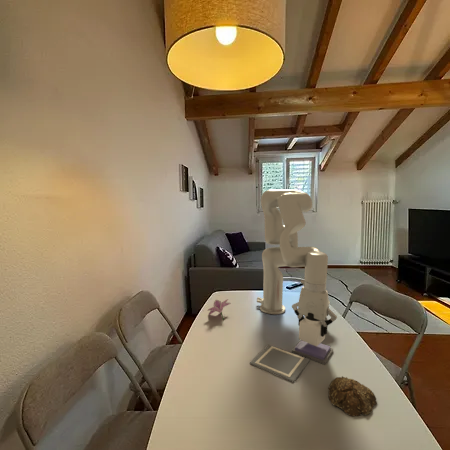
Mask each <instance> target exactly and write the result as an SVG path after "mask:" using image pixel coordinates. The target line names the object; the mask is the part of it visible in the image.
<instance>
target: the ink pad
mask: <svg viewBox="0 0 450 450" xmlns="http://www.w3.org/2000/svg"><path fill="white" fill-rule="evenodd" d="M333 352H334V348H332V347H331V346H330V345H326V344H323V343H322V342H321V343H320V344H319V345H318V346H314V345H312V344H309V343H307V342H305V341H302V340H300V339H299V342H298V343H297V344H296V345H295V346H294V347H293V348H292V349H291V353H294V354H297V355H299V356H303V357H306V358H308V359H310V360H311V361H314V362H316V361H317V363H319V364H323V365H326V363H327V362H328V360H329V359H330V357H331V355H332V354H333Z"/></svg>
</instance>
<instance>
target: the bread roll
mask: <svg viewBox="0 0 450 450" xmlns="http://www.w3.org/2000/svg"><path fill="white" fill-rule="evenodd" d="M327 389H328V400H329V401H330V403H331V405H332V406H335V407H337V408H340V409H341V410H343V412H344V414H347V415H348V416H350V417H359V416H361V415H363V416H368V415H370V414H371V413H372V412H373V410H374V406H376V405H377V397H376V395H375V393H374V392H373V391H372V390H371V389H370V388H369V387H367V386H366V385H365V384H363V383H361V382H359V381H358V380H355V379H353V378H348V377H347V376H346V377H344V376H343V375H342V376H339V377H335V378H334V379H333V380H332V381H331V382H330V384H329V387H327Z"/></svg>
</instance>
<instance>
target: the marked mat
mask: <svg viewBox="0 0 450 450" xmlns="http://www.w3.org/2000/svg"><path fill="white" fill-rule="evenodd" d="M310 360H311V359H308V358H305V357H302V356H300V355H297V354H294V353H292V351H291V352H290V351H288V350H286V349H282V348H280V347H276V346H275V345H271V344H267V345H266V346H265V347H264V348H263V349H262V350H261V351H260V352H259V353H258V354H257V355H256V356H254V358H253V359H252V360H250V361H249V364H250V365H251V366H254V367H257V368H259V369H261V370H264V371H265V372H267V373H270V374H272V375H275V376H277V377H280V378H282V379H284V380H287V381H289V382H292V383H295V382H296V380H297V379H298V378H299V376H300V375H301V373H302V372H303V371H304V369H305V368H306V367H307V366H308V364H309V362H310Z"/></svg>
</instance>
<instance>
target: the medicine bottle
mask: <svg viewBox="0 0 450 450" xmlns="http://www.w3.org/2000/svg"><path fill="white" fill-rule="evenodd" d="M322 325H323V323H322V321H321V320H318V319H315V318H314V314H312V313H308V316H304V319H303V320H301V321H300V326H299V325H298V327H299V328H298V329H299V330H298V331H299V333H298V340H299V341H300V340H302V341H305V342H307V343H309V344H312V345H314V346H318V345H319V344H320V343H321V344H322V342H323V341H324V340H325V339H326V334H325V335H324V336H323V337H322V336H321V329H322Z"/></svg>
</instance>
